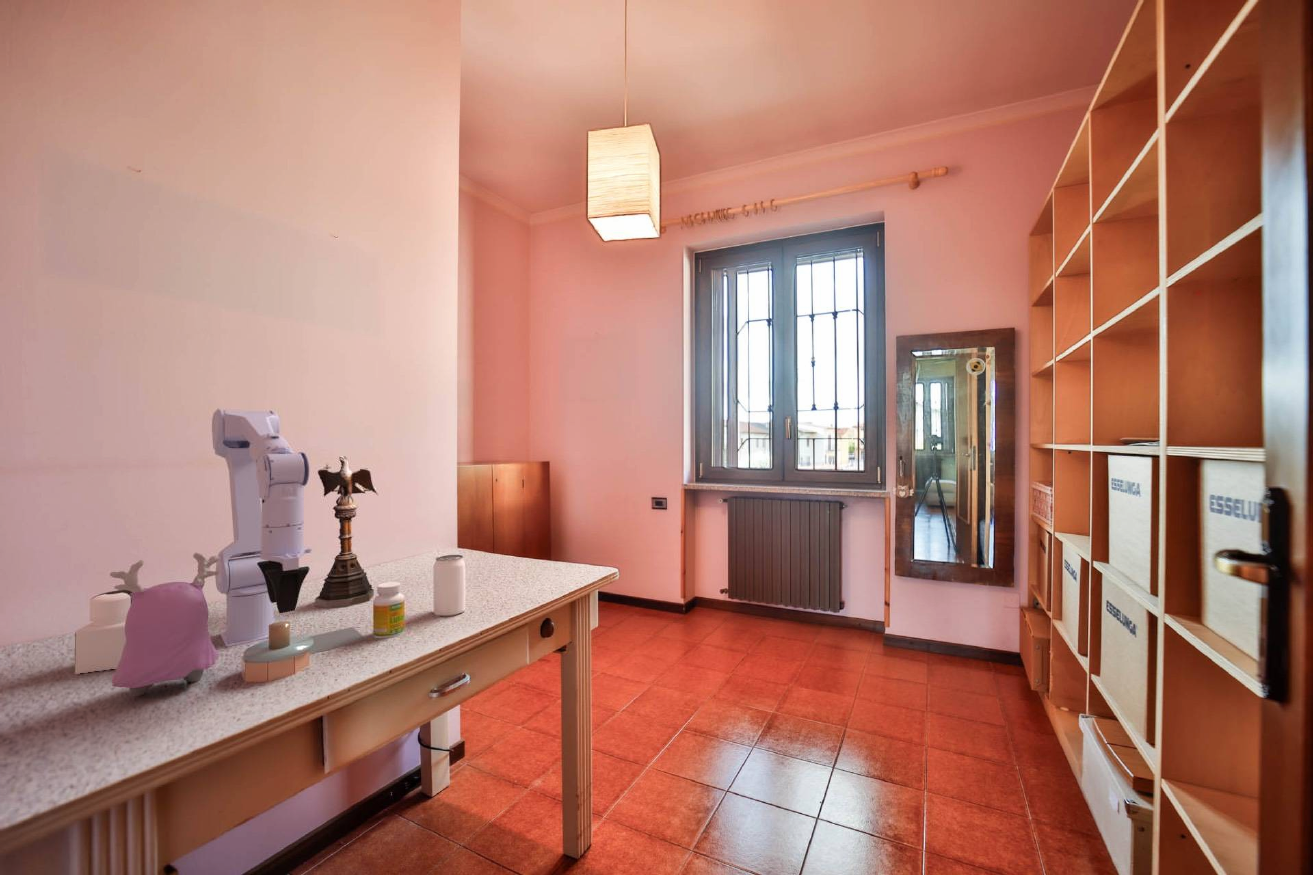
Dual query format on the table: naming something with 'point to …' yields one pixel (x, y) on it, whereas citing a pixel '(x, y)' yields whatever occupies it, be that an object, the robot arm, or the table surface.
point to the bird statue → (345, 539)
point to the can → (449, 585)
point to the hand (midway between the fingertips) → (282, 606)
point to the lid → (278, 645)
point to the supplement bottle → (388, 611)
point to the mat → (335, 639)
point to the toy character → (165, 631)
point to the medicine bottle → (103, 633)
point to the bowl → (274, 668)
